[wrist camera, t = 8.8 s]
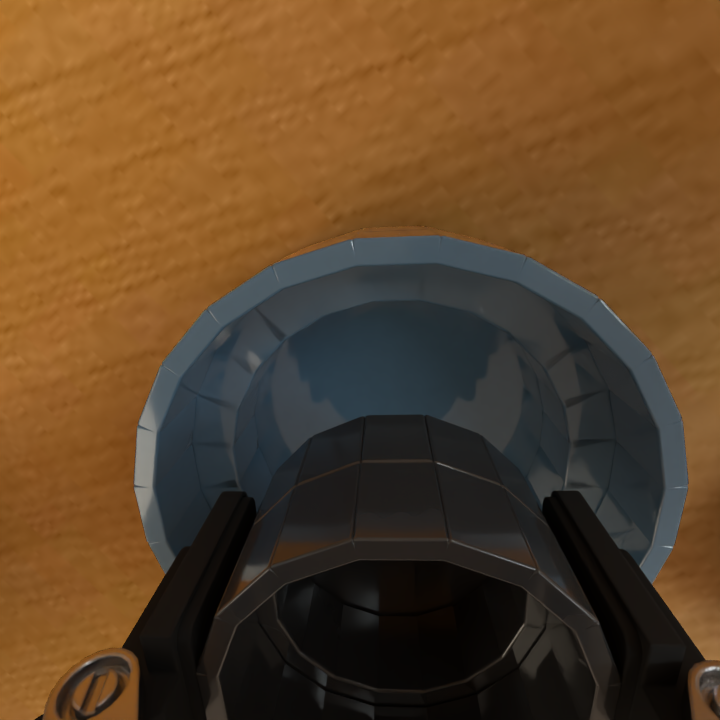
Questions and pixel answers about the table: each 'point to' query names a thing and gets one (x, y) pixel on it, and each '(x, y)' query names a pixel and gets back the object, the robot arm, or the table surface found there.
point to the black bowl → (404, 590)
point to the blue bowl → (414, 381)
